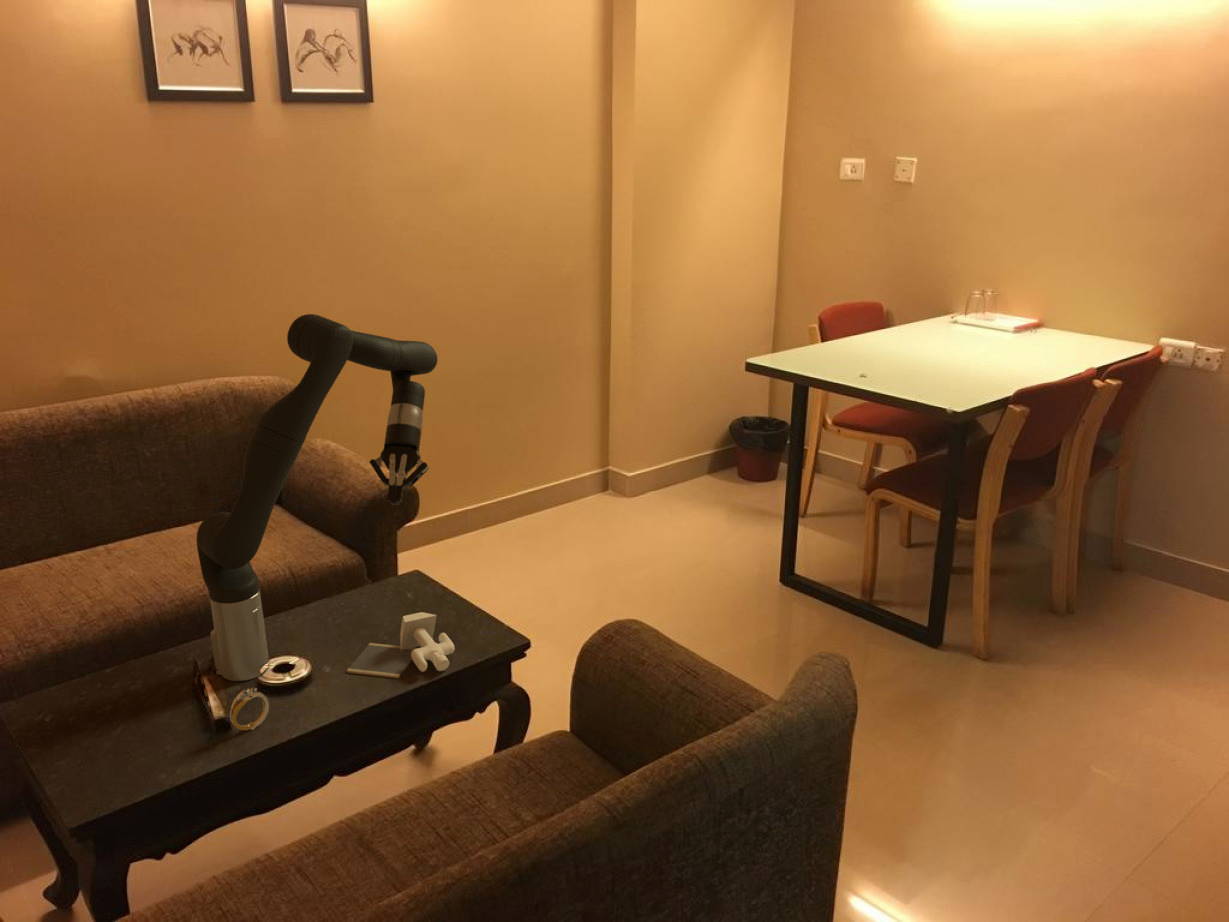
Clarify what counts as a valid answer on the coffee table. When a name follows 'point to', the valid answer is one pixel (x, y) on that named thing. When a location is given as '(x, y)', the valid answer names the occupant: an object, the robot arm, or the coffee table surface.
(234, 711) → the ring
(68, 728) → the coffee table surface
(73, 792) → the coffee table surface
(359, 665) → the felt mat
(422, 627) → the figurine
